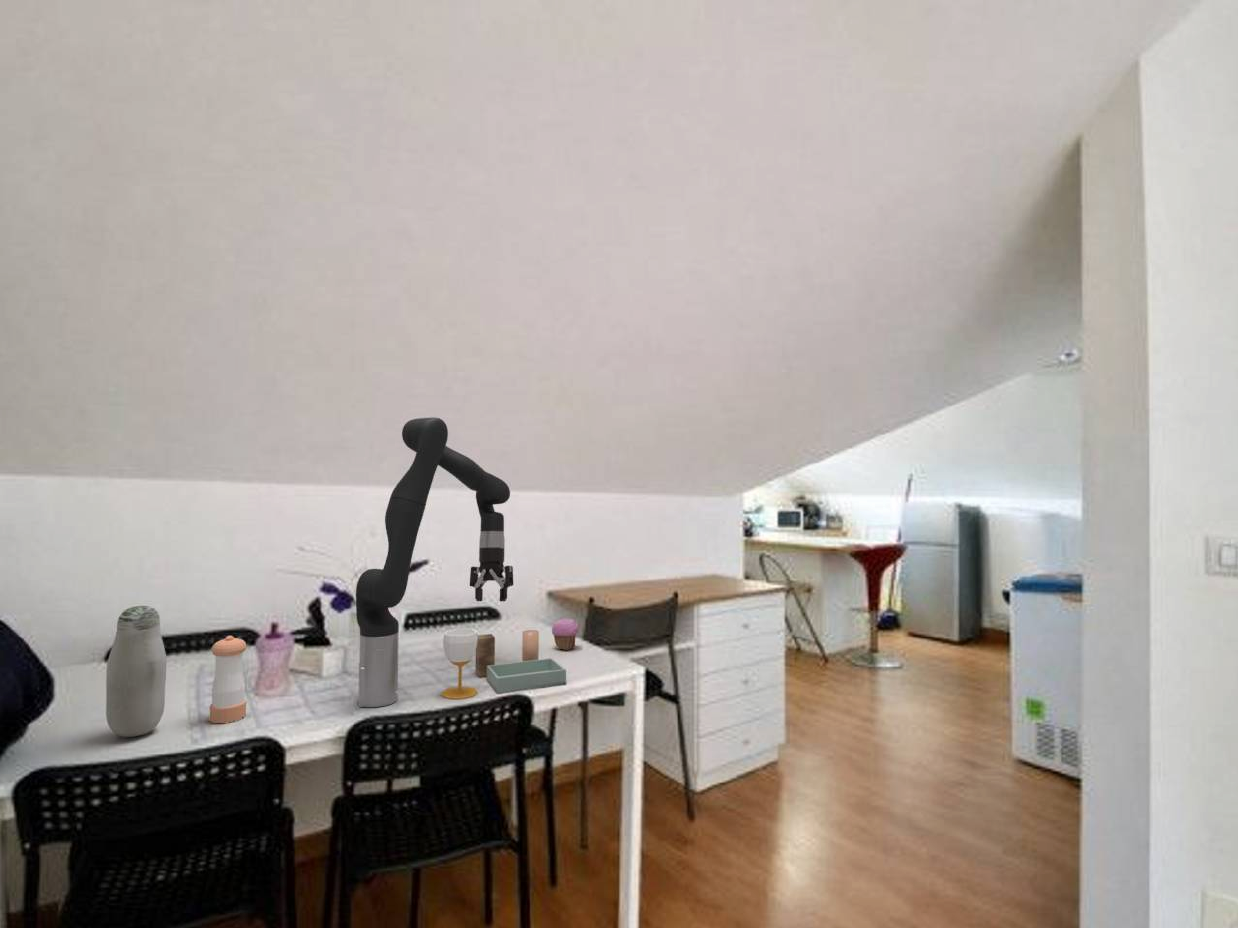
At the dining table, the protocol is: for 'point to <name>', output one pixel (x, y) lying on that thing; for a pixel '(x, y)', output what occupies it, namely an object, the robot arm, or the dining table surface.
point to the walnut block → (484, 654)
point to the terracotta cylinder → (530, 645)
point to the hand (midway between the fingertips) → (491, 601)
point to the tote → (525, 675)
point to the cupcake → (565, 633)
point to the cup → (460, 658)
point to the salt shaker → (228, 681)
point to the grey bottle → (136, 673)
